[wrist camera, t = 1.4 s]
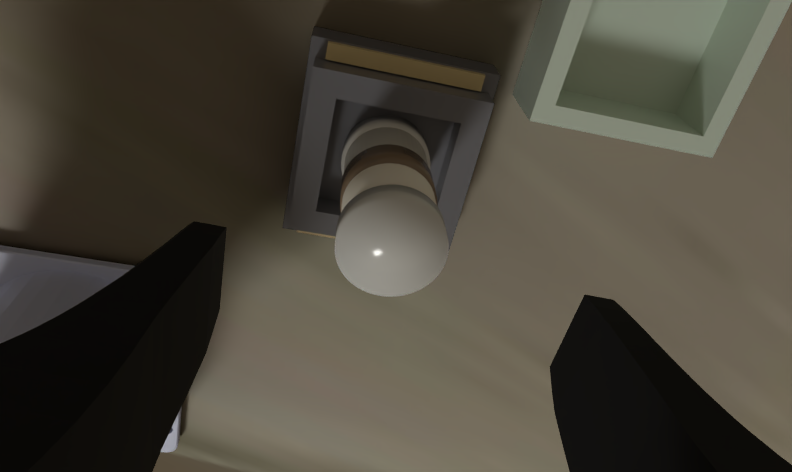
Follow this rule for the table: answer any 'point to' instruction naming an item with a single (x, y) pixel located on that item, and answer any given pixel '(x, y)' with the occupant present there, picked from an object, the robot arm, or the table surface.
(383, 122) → the cylinder
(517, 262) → the table surface
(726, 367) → the table surface
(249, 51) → the table surface
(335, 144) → the grey square holder
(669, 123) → the parts tray
